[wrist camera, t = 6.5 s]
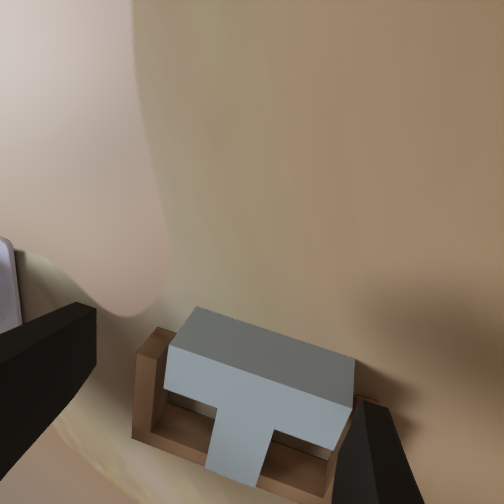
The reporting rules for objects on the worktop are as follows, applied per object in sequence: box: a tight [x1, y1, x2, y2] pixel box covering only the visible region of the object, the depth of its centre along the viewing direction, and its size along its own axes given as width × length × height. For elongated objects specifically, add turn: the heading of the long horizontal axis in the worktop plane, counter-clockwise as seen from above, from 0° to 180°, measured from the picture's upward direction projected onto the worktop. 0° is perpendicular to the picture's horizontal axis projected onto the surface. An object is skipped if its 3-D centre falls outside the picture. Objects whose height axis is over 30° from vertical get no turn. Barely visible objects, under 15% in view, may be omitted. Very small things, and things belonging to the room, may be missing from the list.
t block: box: [164, 306, 355, 488], centre depth 22 cm, size 9×8×4 cm
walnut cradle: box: [132, 327, 379, 504], centre depth 23 cm, size 13×7×2 cm, turn 79°
